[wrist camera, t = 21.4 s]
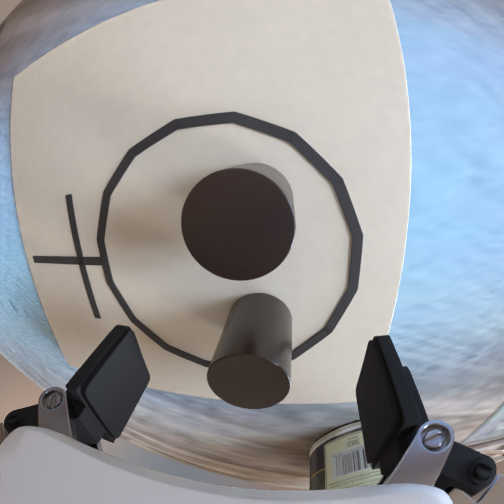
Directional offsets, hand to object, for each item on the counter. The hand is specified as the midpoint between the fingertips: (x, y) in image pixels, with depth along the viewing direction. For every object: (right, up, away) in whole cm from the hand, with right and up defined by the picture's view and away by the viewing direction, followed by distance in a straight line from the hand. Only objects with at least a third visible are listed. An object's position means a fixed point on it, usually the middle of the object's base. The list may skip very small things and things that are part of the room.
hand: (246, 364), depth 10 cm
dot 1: (0, +6, +2) cm, 7 cm away
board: (-5, +6, +3) cm, 8 cm away
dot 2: (+1, +1, +4) cm, 4 cm away
